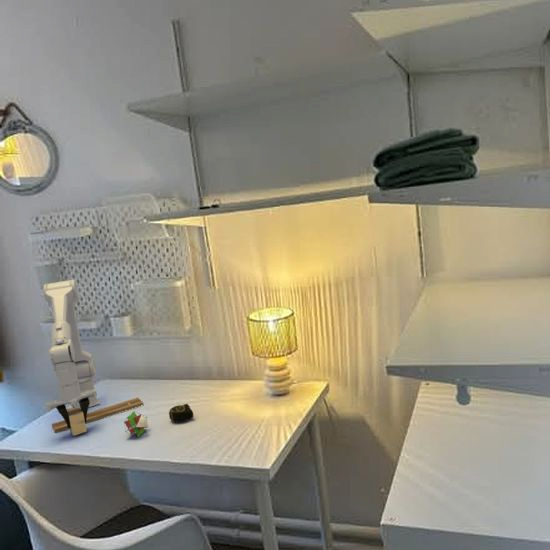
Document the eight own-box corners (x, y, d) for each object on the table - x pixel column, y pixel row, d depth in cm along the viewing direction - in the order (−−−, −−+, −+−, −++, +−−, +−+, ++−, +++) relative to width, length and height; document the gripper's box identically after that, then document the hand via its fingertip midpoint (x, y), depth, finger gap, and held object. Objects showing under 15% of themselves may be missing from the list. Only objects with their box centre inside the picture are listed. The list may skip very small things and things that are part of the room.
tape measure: (194, 421, 180) (193, 409, 179) (172, 426, 178) (170, 415, 177) (190, 413, 186) (189, 401, 186) (168, 418, 184) (166, 407, 184)
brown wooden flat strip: (52, 426, 190) (51, 423, 190) (138, 400, 203) (137, 397, 203) (55, 433, 185) (54, 429, 185) (143, 405, 198) (142, 402, 197)
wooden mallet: (65, 422, 190) (61, 404, 189) (78, 418, 192) (74, 400, 191) (73, 435, 179) (69, 416, 178) (86, 431, 180) (83, 412, 179)
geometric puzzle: (115, 432, 174) (125, 412, 171) (127, 422, 180) (137, 402, 177) (135, 446, 173) (145, 426, 170) (146, 435, 179) (156, 415, 177)
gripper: (44, 393, 173) (54, 437, 175) (95, 379, 179) (104, 421, 182) (41, 387, 179) (50, 429, 181) (90, 373, 185) (98, 414, 188)
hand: (77, 425), depth 182 cm, fingers closed on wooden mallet, 4 cm apart
